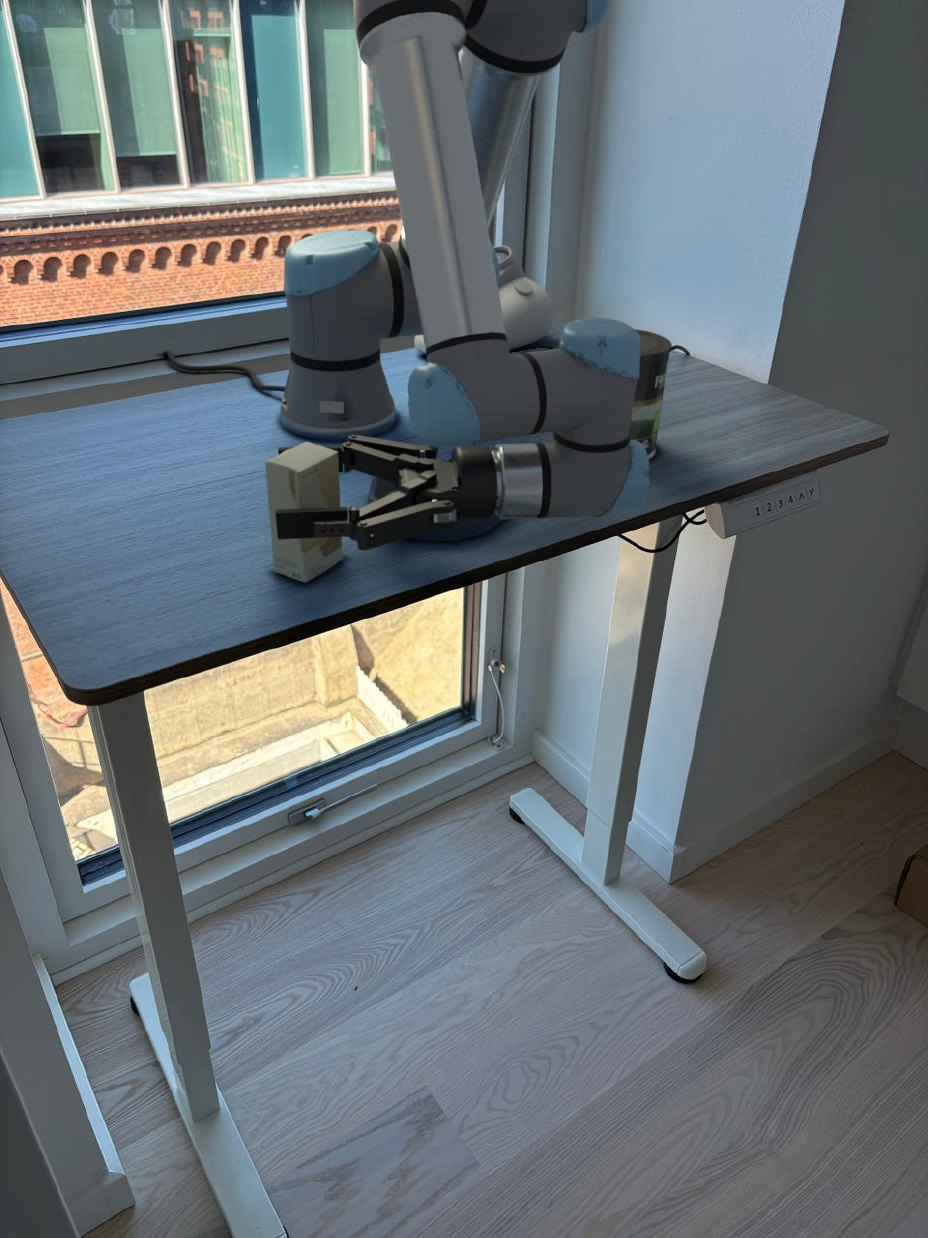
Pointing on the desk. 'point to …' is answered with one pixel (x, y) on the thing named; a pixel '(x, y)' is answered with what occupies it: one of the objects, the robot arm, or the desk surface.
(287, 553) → the cosmetic box
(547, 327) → the projector
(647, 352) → the coffee can
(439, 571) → the desk surface
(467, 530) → the handled polygonal ring
